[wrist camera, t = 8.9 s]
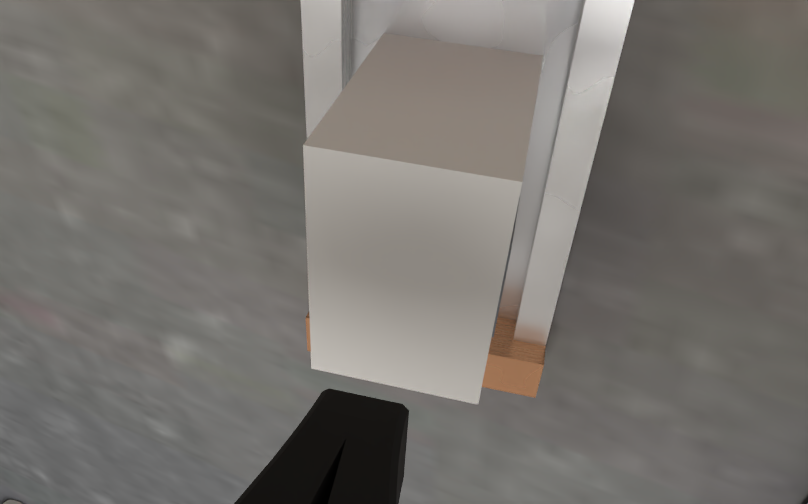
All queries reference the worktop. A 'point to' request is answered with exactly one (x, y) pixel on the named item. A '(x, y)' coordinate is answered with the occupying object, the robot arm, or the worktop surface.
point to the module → (416, 212)
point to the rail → (549, 139)
